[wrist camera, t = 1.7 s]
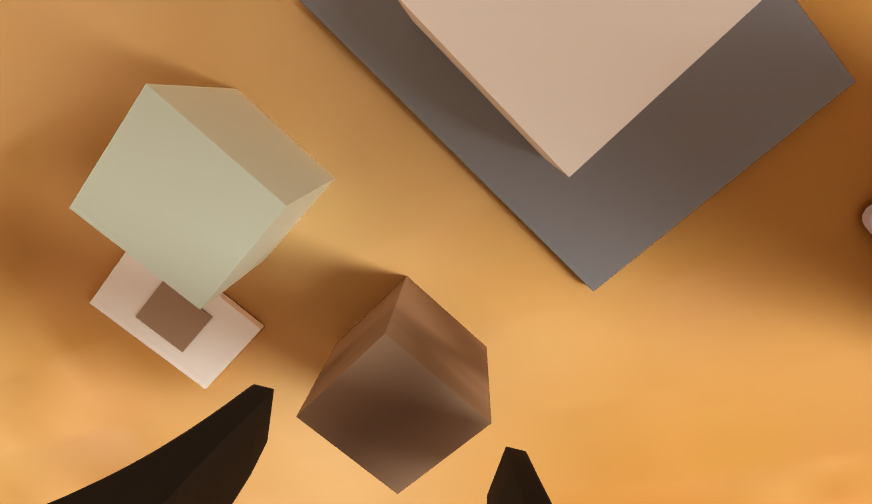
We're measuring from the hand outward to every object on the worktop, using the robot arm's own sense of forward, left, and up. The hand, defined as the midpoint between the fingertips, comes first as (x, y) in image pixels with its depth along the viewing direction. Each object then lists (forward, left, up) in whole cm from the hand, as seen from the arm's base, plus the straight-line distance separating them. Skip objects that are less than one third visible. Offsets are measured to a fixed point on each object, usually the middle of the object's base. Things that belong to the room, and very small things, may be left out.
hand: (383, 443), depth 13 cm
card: (+8, +6, -5) cm, 11 cm away
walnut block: (0, 0, -6) cm, 6 cm away
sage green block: (+9, -1, -6) cm, 11 cm away
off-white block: (+5, -12, -5) cm, 14 cm away
